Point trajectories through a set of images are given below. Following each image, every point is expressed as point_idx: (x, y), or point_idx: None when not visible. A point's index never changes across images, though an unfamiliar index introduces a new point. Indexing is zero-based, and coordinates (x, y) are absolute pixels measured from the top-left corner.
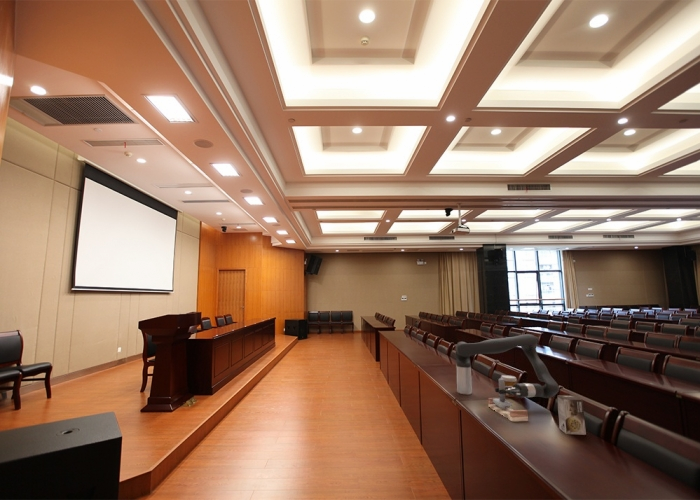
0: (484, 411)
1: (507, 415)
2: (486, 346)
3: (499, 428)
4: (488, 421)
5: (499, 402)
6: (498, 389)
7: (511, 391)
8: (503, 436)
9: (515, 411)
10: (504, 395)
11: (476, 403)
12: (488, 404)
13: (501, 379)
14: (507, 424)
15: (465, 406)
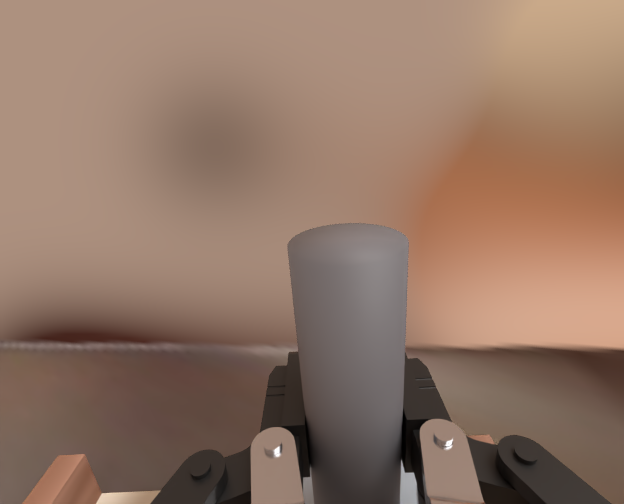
0: None
1: (148, 496)
2: None
3: (87, 375)
4: (186, 367)
5: None
6: None
7: (158, 498)
8: (24, 355)
9: (27, 499)
10: (314, 493)
11: (557, 435)
12: None
13: (324, 238)
14: (84, 444)
15: (438, 347)
